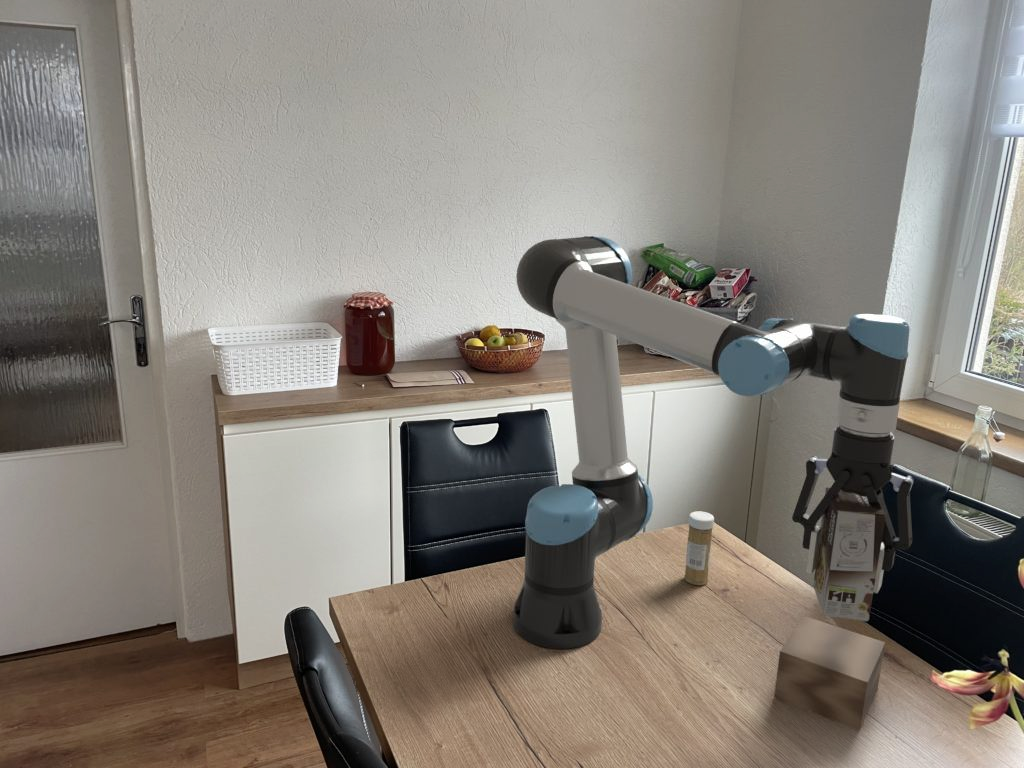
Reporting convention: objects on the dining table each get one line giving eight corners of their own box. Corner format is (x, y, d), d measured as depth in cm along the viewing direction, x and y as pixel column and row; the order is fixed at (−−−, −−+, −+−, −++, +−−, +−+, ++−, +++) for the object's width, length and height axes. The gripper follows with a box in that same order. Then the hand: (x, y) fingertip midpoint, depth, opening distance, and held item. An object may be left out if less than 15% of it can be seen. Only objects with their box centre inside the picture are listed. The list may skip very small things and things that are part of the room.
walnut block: (773, 698, 117) (779, 651, 115) (797, 660, 126) (803, 615, 124) (859, 731, 110) (867, 682, 108) (877, 688, 119) (885, 642, 117)
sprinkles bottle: (712, 580, 150) (719, 515, 146) (699, 589, 147) (705, 522, 143) (692, 572, 153) (698, 508, 150) (678, 579, 150) (684, 514, 146)
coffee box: (870, 622, 109) (887, 515, 105) (821, 616, 110) (836, 510, 106) (856, 589, 118) (872, 489, 113) (811, 584, 119) (825, 485, 115)
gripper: (778, 420, 110) (762, 567, 116) (947, 452, 98) (919, 614, 104) (794, 408, 116) (777, 548, 122) (955, 437, 104) (928, 591, 110)
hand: (843, 578), depth 113 cm, fingers closed on coffee box, 8 cm apart
